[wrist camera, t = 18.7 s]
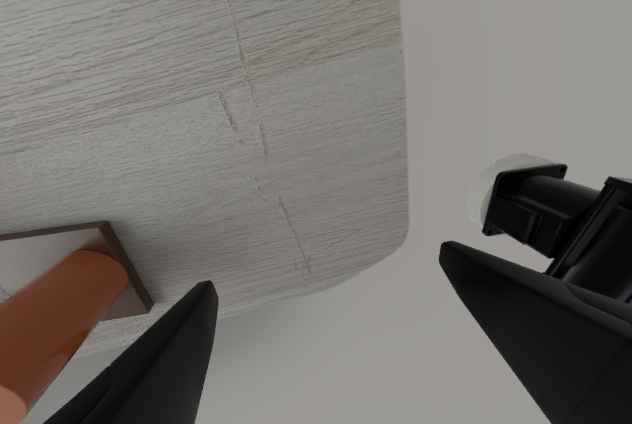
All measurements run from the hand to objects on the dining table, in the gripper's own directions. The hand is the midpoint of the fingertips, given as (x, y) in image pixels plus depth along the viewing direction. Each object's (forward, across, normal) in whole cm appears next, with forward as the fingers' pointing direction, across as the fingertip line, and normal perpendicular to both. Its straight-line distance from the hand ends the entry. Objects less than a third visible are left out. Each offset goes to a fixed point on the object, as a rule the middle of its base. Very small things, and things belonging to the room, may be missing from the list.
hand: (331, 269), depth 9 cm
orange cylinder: (+12, +20, +6) cm, 24 cm away
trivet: (+13, +22, +7) cm, 26 cm away
